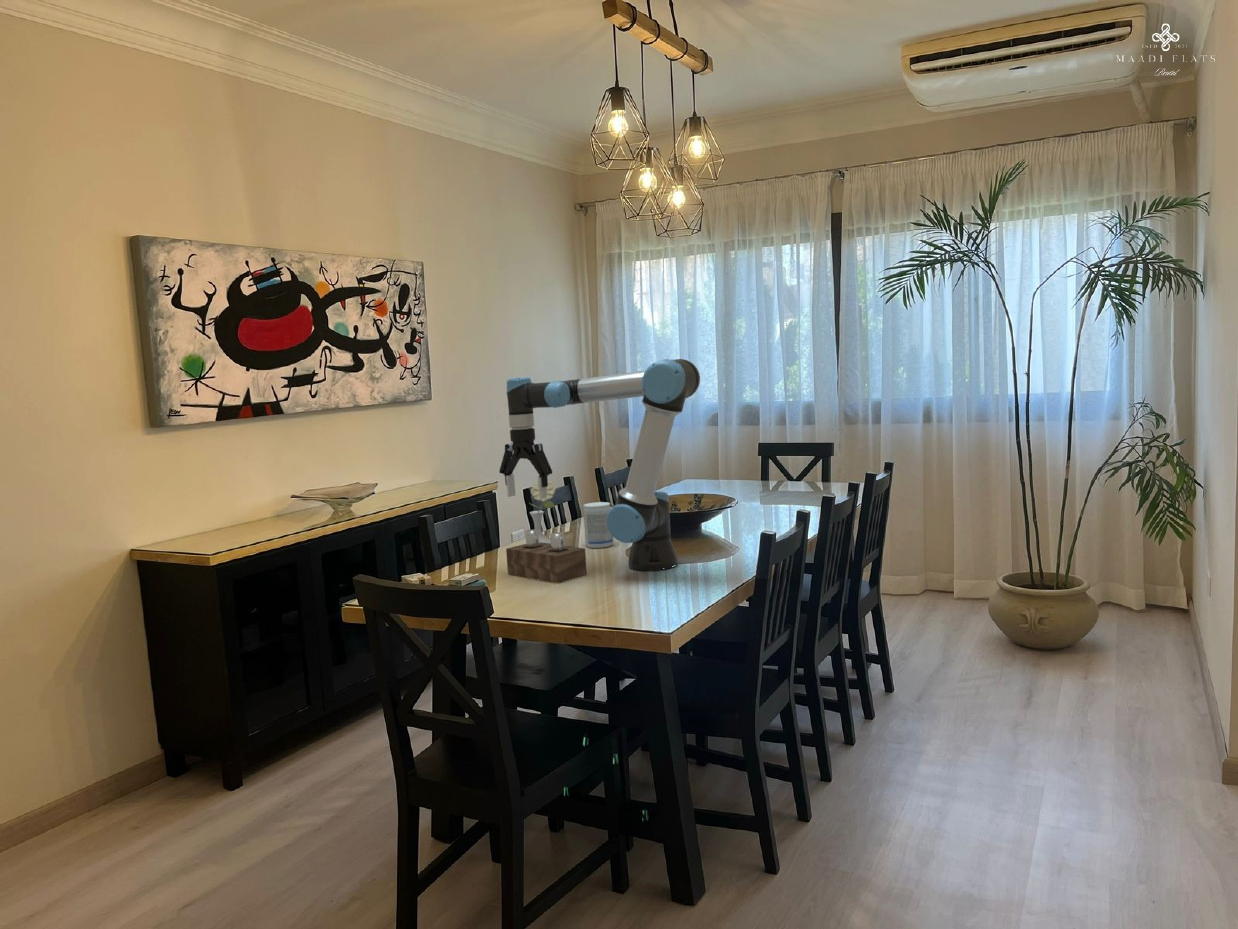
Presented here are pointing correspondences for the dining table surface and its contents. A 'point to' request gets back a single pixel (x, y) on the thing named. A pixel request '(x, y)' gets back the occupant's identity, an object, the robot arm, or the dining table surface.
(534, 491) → the flower in vase
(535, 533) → the peg far
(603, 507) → the supplement tub
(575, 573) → the block
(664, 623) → the dining table surface
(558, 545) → the peg near
